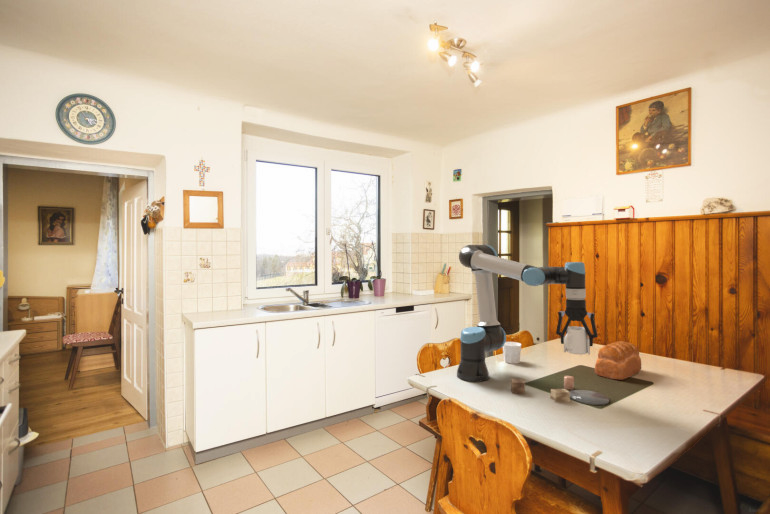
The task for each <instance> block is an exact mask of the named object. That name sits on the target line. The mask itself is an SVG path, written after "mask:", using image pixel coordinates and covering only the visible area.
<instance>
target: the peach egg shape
mask: <svg viewBox="0 0 770 514" xmlns="http://www.w3.org/2000/svg"><path fill="white" fill-rule="evenodd" d="M563 389H566V390H567V391H572V390H575V377H574V376H571V375H563Z"/></svg>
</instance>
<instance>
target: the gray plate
mask: <svg viewBox="0 0 770 514" xmlns="http://www.w3.org/2000/svg"><path fill="white" fill-rule="evenodd" d="M569 392H570V400H573V402H574V401H575V402H577V403H580V404H585V405H590V406H604V405H607V404H609V403H610V398H609V397H608V396H607V395H605V394H604V393H600V392H597V391H593V390H587V389H586V390H585V389H573V390H569Z"/></svg>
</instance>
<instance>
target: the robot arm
mask: <svg viewBox="0 0 770 514" xmlns="http://www.w3.org/2000/svg"><path fill="white" fill-rule="evenodd" d="M458 260H459V262H460V264H461V265H462V266H463V267H466V268H468V269H471V271H470V272H471V273H473V275H474V278H475V279H474V280H475V281H474V282H475V289H476V300H477V309H478V319H479V321H478V323H477V324H476V326H468V327H465V328H463V329H462V330H461V332H460V337H459V340H460V361H459V365H458V367H457V370H456V377H457V378H458V379H461V380H462V381H466V382H474V383H476V382H485V381H487V380H489V378H490V374H489V370H488V366H487V363H486V353H489V352H495V351H498V350H499V349H501V348H502V349H503V346H504V344H505V342H507V333H506V332H505V330H504V328H502V327H501V323H500V322H499V321H498V319H497V311H496V301H495V293H494V292H495V291H494V279H493V273H494V274H497V275H500V276H503V277H507V278H511V279H515V280H517V281H520V282H524V283H525V284H526V285H528V286H531V287H532V286H533V287H538V286H544V285H565V298H566V299H565V310H564V311H563V310H562V311H560V310H559V311H558V312H557V315H558V321H557V326H556V331H555V333H556V335H557V336H560V344H562V345H563V353H567V350H566V347H565V344H564V339H565V336H566V330H567V328H568V327H570V324H571V321H572V322H575V321H576V322H580V323H581V324H582V327H584V328H585V330H586V332H587V334H588V338H587V348H588V353H587V356H589V355H590V354H591V347H593V346H594V339H595V338H598V331H597V326H596V322H595V313H594V312H588V311H587V300H586V298H587V296H586V295H587V293H586V290H587V289H586V274H587V273H586V267H585V263H584V262H582V261H568V262H565V263H564V266H540V267H538V266H534V265H530V264H526V263H522V262H518V261H515V260H510V259H507V258H504V257H498V253H497V251H496V249H495V248H494V247H493V246H492V245H487V244H468V245H464V246H463V247H461V249H460V250H459V253H458ZM565 315H566V316H567V317H568V319H567V321H566V322H565V325H564V327H563V329H562V332H561V327H562V322H563V317H564V316H565ZM586 316H588V319H590V324H591V325H590V326H591V328H592V332H591V330H590V328H589V326H588V324H587V322H586V320H585V318H586Z"/></svg>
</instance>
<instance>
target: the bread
mask: <svg viewBox="0 0 770 514" xmlns="http://www.w3.org/2000/svg"><path fill="white" fill-rule="evenodd" d="M641 370H642V358H641V357H640V351H639V348H638V347H637V346H636V345H635V344H633V343H631V342H626V341H624V340H623V341H622V340H618V341H614V342H611V343H607V345H604V346H602V347H601V348H599V349H598V353H597V359H596V362H595V365H594V372H595V374H596V375H597V376H599V377H604V378H608V379H610V380H611V379H612V380H620V381H622V380H623V381H624V380H625V379H628V378H630V377H632V376H635V375H636V374H638V373H639V372H641Z"/></svg>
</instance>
